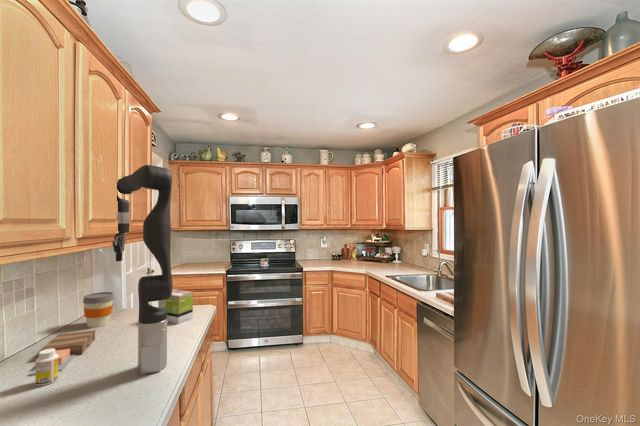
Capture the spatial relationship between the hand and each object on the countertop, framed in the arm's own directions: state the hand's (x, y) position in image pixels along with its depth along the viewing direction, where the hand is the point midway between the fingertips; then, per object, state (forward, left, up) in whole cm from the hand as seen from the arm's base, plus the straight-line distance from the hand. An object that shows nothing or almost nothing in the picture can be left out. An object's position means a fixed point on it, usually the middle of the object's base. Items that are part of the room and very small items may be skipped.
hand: (119, 261), depth 134 cm
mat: (-18, +16, -35) cm, 43 cm away
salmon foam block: (-16, +16, -34) cm, 41 cm away
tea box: (+20, -22, -35) cm, 46 cm away
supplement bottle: (-32, +13, -35) cm, 49 cm away
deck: (-4, +16, -35) cm, 39 cm away
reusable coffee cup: (+26, +14, -35) cm, 46 cm away
